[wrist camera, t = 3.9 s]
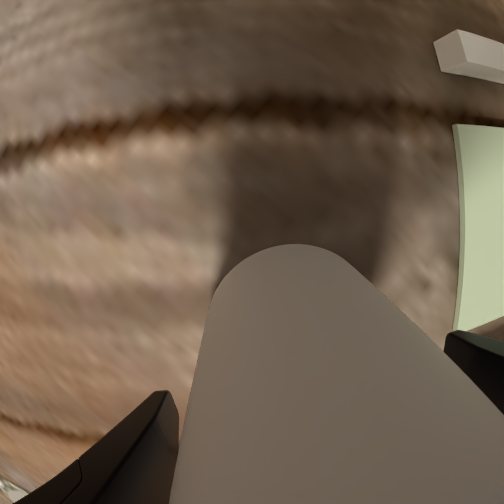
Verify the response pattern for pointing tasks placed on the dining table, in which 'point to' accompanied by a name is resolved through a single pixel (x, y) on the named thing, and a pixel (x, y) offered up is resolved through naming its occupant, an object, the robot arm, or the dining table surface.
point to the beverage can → (329, 397)
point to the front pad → (480, 225)
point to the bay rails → (471, 56)
